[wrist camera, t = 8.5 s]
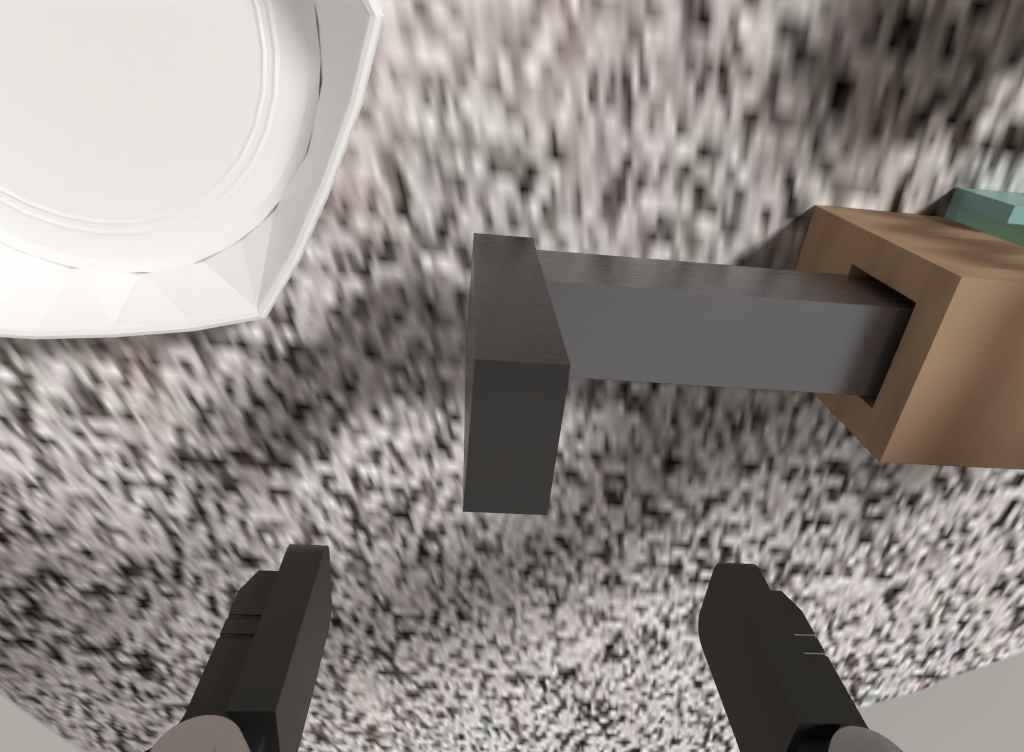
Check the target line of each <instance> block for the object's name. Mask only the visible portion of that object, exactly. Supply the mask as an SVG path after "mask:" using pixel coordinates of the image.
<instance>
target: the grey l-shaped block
mask: <svg viewBox="0 0 1024 752" xmlns="http://www.w3.org/2000/svg"><path fill="white" fill-rule="evenodd" d="M915 305H916V302H915V301H913V300H911V299H910V298H908V297H906V296H905V295H903V294H901V293H900V292H898V291H896V290H895V289H893V288H891V287H890V286H888V285H886V284H885V283H883V282H881V281H880V280H878V279H876V278H875V277H868V276H856V275H843V274H831V273H819V272H806V271H794V270H781V269H769V268H757V267H744V266H732V265H719V264H707V263H694V262H682V261H670V260H657V259H645V258H632V257H620V256H607V255H595V254H583V253H570V252H558V251H545V250H536V248H535V245H534V241H533V238H527V237H515V236H503V235H490V234H478V233H474V239H473V253H472V267H471V281H470V295H469V309H468V323H467V337H466V378H465V430H464V481H463V512H487V513H511V514H535V515H547V512H548V506H549V500H550V493H551V487H552V481H553V474H554V468H555V462H556V455H557V449H558V443H559V436H560V430H561V424H562V417H563V411H564V405H565V398H566V392H567V385H568V379H569V377H572V378H588V379H604V380H620V381H636V382H653V383H669V384H685V385H701V386H717V387H733V388H750V389H766V390H782V391H798V392H814V393H830V394H847V395H863V396H878V394H879V392H880V390H881V387H882V385H883V382H884V380H885V378H886V375H887V373H888V370H889V368H890V366H891V363H892V361H893V358H894V356H895V354H896V351H897V349H898V346H899V344H900V342H901V339H902V337H903V334H904V332H905V329H906V327H907V325H908V322H909V320H910V317H911V315H912V313H913V310H914V308H915Z"/></svg>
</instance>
